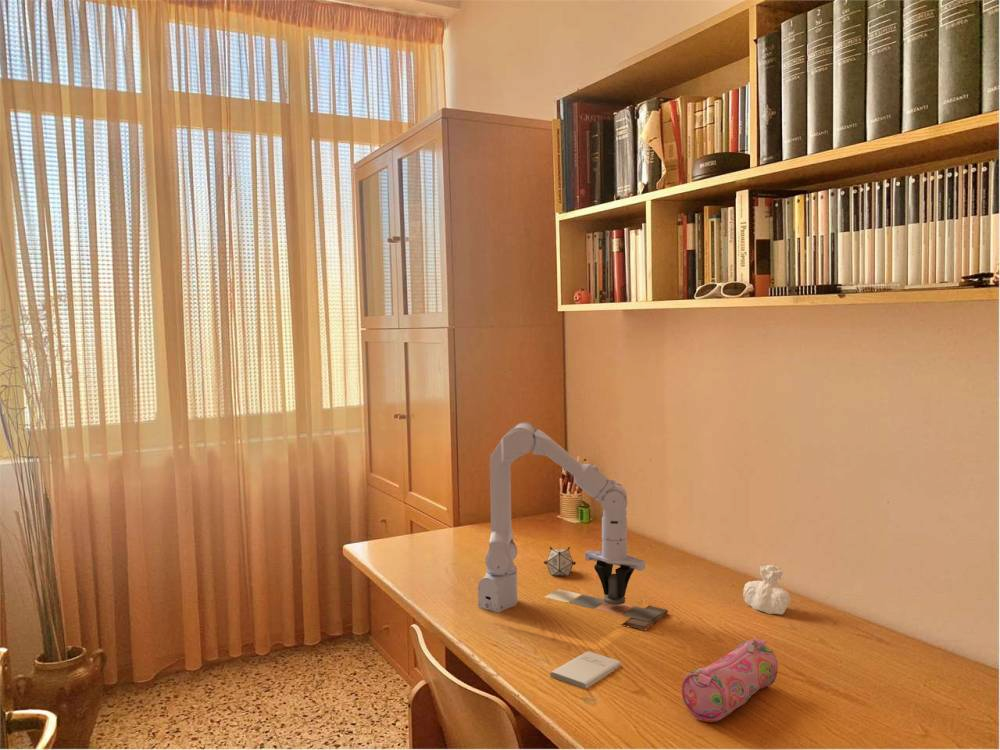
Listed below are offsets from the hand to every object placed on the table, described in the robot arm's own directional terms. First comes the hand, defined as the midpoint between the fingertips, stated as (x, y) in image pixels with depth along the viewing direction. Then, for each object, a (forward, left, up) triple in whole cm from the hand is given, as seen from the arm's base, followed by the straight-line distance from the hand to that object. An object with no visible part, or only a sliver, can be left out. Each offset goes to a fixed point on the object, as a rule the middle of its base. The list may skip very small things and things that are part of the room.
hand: (614, 595), depth 184 cm
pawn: (0, 0, -1) cm, 1 cm away
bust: (+22, -29, -4) cm, 36 cm away
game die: (+14, +23, -4) cm, 28 cm away
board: (0, +3, -4) cm, 5 cm away
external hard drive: (-30, -10, -5) cm, 32 cm away
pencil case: (-26, -37, -4) cm, 46 cm away
